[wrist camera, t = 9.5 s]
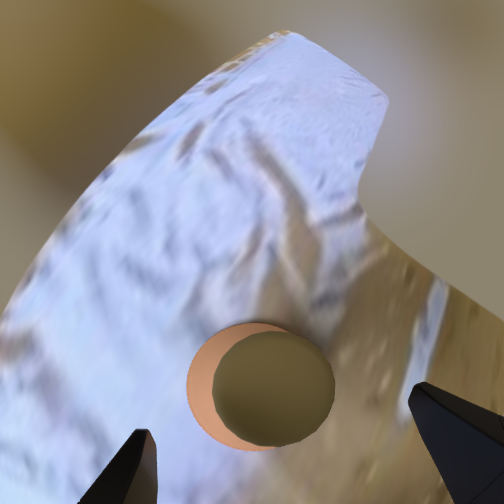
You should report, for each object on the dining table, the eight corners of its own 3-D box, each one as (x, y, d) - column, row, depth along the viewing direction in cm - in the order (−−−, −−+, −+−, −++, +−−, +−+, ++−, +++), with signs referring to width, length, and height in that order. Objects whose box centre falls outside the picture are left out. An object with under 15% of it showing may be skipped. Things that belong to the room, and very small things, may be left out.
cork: (293, 348, 21) (346, 306, 12) (299, 424, 19) (361, 449, 9) (212, 352, 21) (195, 314, 11) (216, 431, 18) (202, 468, 8)
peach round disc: (335, 351, 22) (338, 350, 21) (289, 465, 18) (291, 467, 17) (220, 305, 23) (220, 302, 23) (167, 416, 19) (165, 417, 18)
